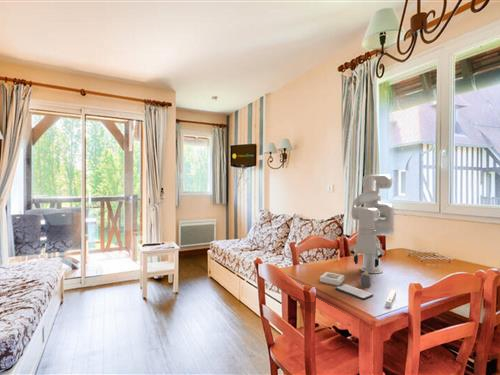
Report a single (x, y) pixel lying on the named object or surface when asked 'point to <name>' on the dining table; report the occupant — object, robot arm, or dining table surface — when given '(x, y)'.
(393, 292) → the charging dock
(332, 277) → the white square shallow tray
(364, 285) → the plug
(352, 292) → the phone case
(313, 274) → the dining table surface
